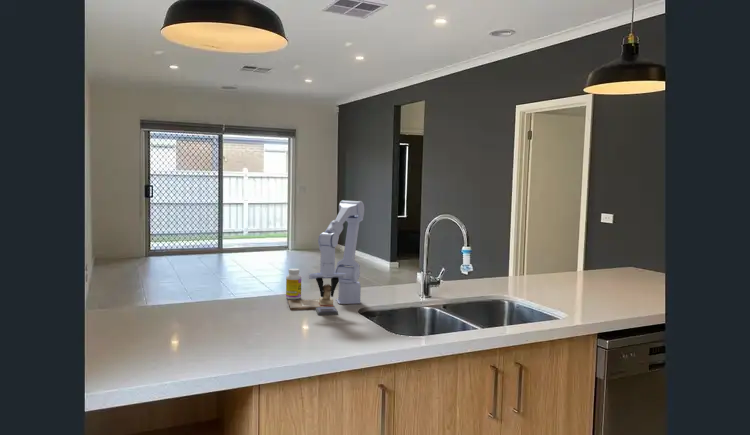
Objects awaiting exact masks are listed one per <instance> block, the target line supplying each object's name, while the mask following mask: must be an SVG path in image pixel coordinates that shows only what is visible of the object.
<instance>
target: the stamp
mask: <svg viewBox="0 0 750 435" xmlns="http://www.w3.org/2000/svg"><path fill="white" fill-rule="evenodd" d="M331 289H332V288H331V284H329V283H326V284H323V297H319V298H318V299H319V304H320V306H333V305H334V299H333V297H331Z"/></svg>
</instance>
